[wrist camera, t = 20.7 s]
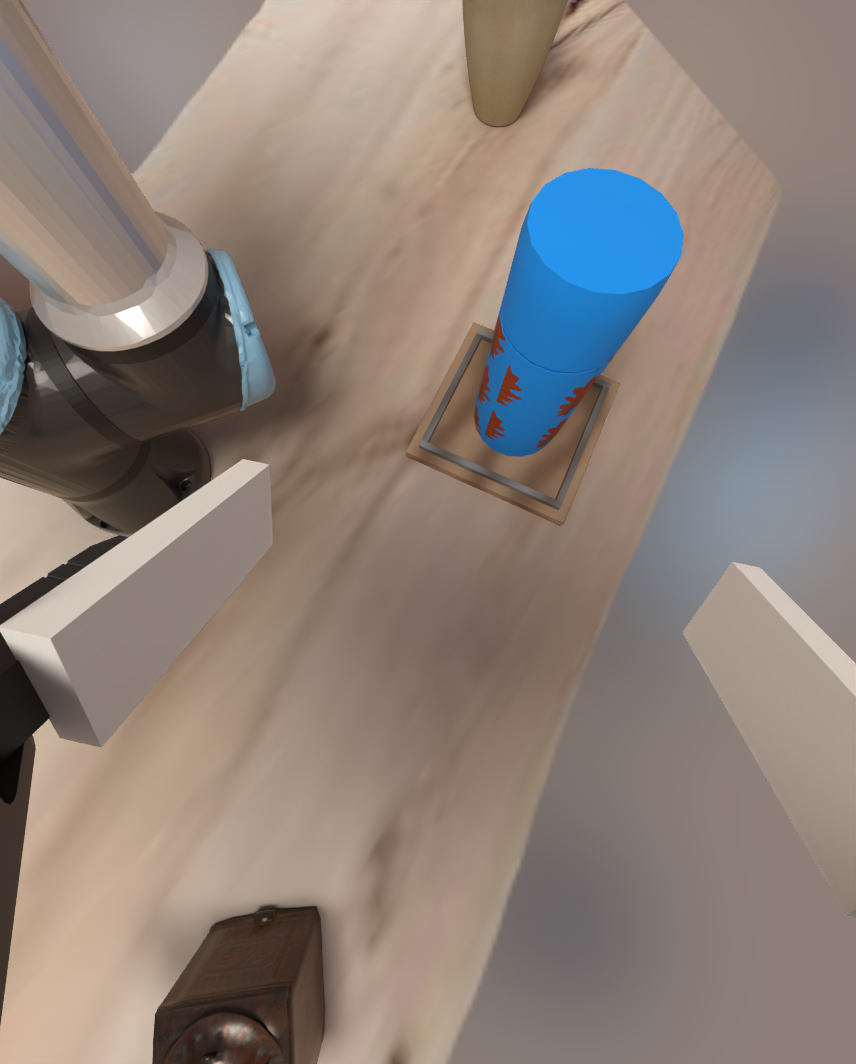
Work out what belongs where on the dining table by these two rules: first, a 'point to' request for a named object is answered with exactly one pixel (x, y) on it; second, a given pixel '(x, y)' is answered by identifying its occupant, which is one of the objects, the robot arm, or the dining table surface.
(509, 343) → the thermos
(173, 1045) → the manual coffee grinder
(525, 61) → the plant pot
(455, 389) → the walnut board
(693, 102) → the dining table surface
